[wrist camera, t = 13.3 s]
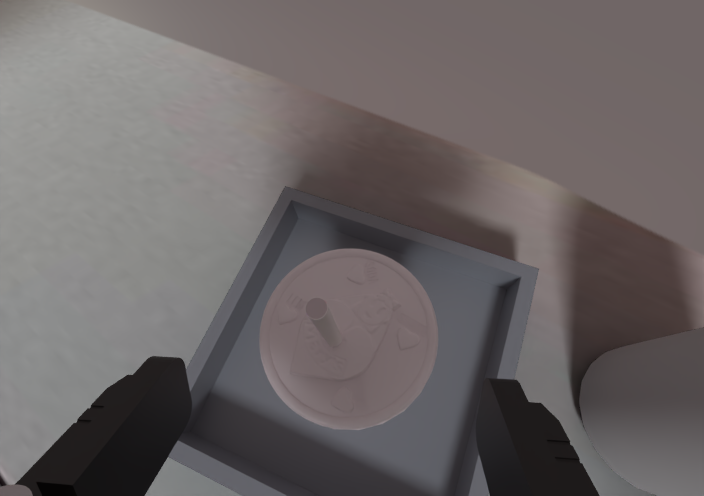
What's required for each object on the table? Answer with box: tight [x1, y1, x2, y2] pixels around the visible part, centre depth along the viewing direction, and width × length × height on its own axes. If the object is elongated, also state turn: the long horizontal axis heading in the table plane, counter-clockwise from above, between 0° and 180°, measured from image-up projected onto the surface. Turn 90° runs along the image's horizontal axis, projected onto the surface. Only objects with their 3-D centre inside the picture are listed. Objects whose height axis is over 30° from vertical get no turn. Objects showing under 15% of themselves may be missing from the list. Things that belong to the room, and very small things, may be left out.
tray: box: [168, 186, 539, 496], centre depth 21 cm, size 16×16×4 cm
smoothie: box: [259, 248, 438, 430], centre depth 15 cm, size 6×6×14 cm
